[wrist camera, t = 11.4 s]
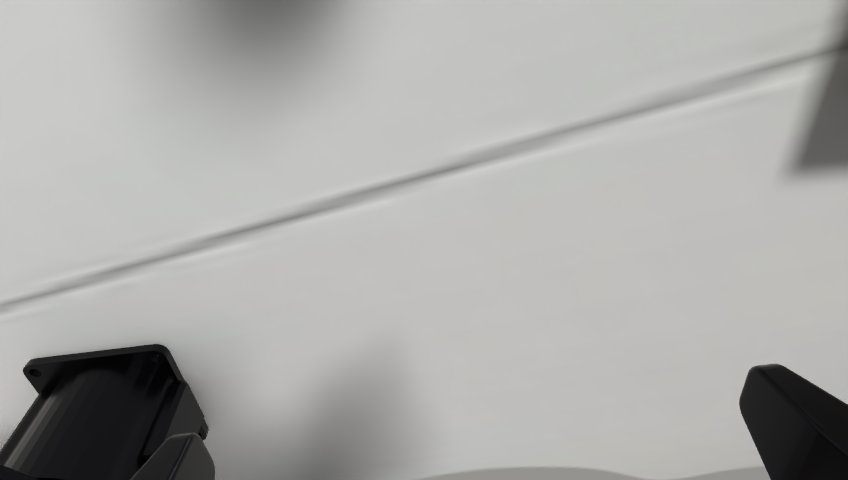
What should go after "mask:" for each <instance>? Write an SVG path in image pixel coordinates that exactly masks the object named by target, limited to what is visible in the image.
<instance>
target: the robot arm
mask: <svg viewBox="0 0 848 480" xmlns="http://www.w3.org/2000/svg"><path fill="white" fill-rule="evenodd" d="M156 355H158V356H156ZM23 373H24V375H25V376H26V377H27V379H28V380H29V381H30V383H31V384H32V386H33V387H34V388H35V390H36V391H37V392H38V394H39V395H38V397H37V398H36V400H35V401H34V403H33V404H32V406H31V407H30V408H29V410H28V411H27V413H26V414H25V416H24V417H23V419H22V420H21V422H20V423H19V425H18V426H17V428H16V429H15V431H14V432H13V433H12V435H11V436H10V438H9V439H8V441H7V442H6V444H5V445H4V447H3V448H2V450H1V451H0V480H215V466H214V462H213V460H212V458H211V456H210V454H209V452H208V450H207V449H206V447H205V445H204V443H203V441H202V440H204V439H206V436H207V433H208V430H209V429H208V426H207V424H206V422H205V420H204V415H203V413H202V411H201V409H200V407H199V405H198V403H197V401H196V399H195V397H194V395H193V393H192V391H191V389H190V387H189V385H188V384H187V383H186V382H185V381H184V379H183V377H182V375H181V373H180V371H179V369H178V367H177V365H176V363H175V361H174V359H173V357H172V355H171V353H170V351H169V350H168V349H167V348H166V347H165V346H163V345H159V344H153V345H144V346H136V347H128V348H119V349H111V350H103V351H95V352H86V353H78V354H70V355H61V356H53V357H45V358H36V359H32V360H30V361H29V362H28V363H27V364H26V366H25V367H24V368H23ZM739 405H740V410H741V414H742V416H743V418H744V421H745V423H746V425H747V427H748V430H749V432H750V434H751V436H752V439H753V441H754V443H755V445H756V447H757V450H758V452H759V454H760V456H761V459H762V461H763V463H764V465H765V468H766V470H767V472H768V474H769V476H770V479H771V480H848V404H846V403H844V402H843V401H841V400H839V399H838V398H836V397H834V396H833V395H831V394H829V393H828V392H826V391H824V390H823V389H821V388H819V387H818V386H816V385H814V384H813V383H811V382H809V381H808V380H806V379H804V378H803V377H801V376H799V375H798V374H796V373H794V372H793V371H791V370H789V369H788V368H786V367H784V366H782V365H779V364H768V365H759V366H754V367H752V368H751V369H750V370H749V372H748V375H747V378H746V381H745V384H744V387H743V390H742V393H741V396H740V401H739Z"/></svg>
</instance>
